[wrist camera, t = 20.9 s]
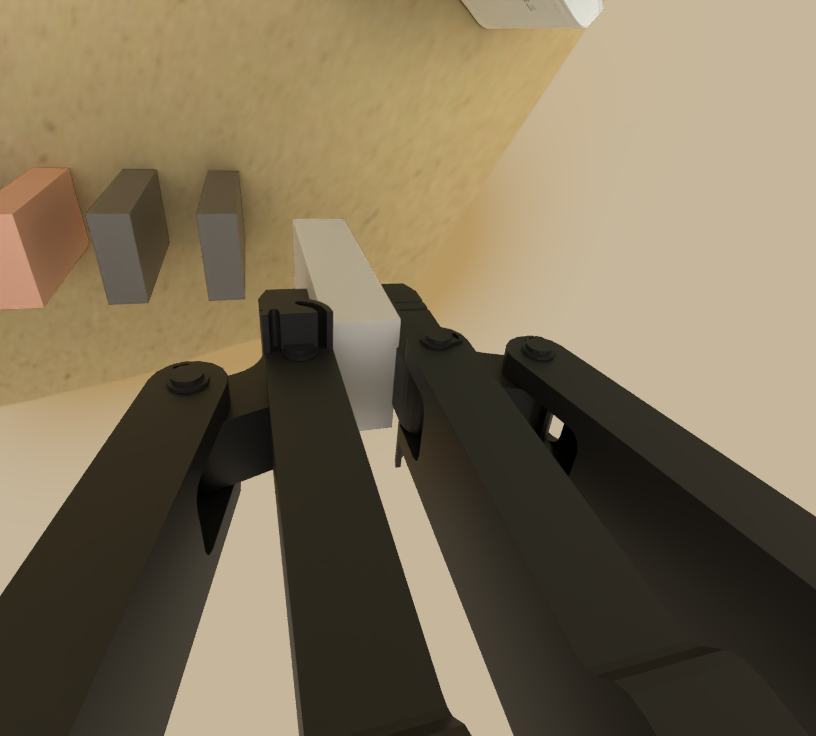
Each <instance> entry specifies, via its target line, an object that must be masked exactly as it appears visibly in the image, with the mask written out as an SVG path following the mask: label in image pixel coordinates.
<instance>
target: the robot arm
mask: <svg viewBox="0 0 816 736" xmlns="http://www.w3.org/2000/svg"><path fill="white" fill-rule="evenodd" d="M293 246H294V274H295V289H278V290H266V291H265V292H264V293H263V294H262V295H261V297H260V298H259V299H258V303H259V316H260V329H261V342H262V353H263V355H262V357H261V359H260V360H259V362H257V363H256V364H255V365H254V366H252V367H251V368H249V369H247V370H245V371H242V372H239V373H236V374H233V375H229V376H228V375H227V373H226V372H225V371H224V369H223V368H221V367H219V366H217V365H215V364H213V363H208V362H201V361H193V362H189V361H186V362H180V363H176V364H173V365H170V366H168V367H165V368H163V369H161V370H159V371H157V372H156V373H155V374H154V375H153V376H152V377H151V378H150V379H148V381H147V382H146V384H145V386H144V387H143V388H142V390H141V391H140V393H139V394H138V395H137V397H136V399H135V400H134V401H133V403H132V404H131V406H130V407H129V409H128V410H127V412H126V413H125V414H124V416H123V417H122V419H121V420H120V422H119V423H118V425H117V426H116V428H115V429H114V431H113V432H112V434H111V435H110V436H109V438H108V439H107V441H106V443H105V444H104V445H103V447H102V448H101V450H100V451H99V452H98V454H97V455H96V457H95V458H94V460H93V461H92V463H91V464H90V466H89V467H88V469H87V470H86V471H85V473H84V474H83V476H82V478H81V479H80V480H79V482H78V483H77V485H76V486H75V488H74V489H73V491H72V492H71V494H70V495H69V496H68V498H67V499H66V501H65V502H64V504H63V505H62V507H61V508H60V510H59V511H58V513H57V514H56V515H55V517H54V518H53V520H52V521H51V523H50V524H49V526H48V527H47V528H46V530H45V531H44V533H43V534H42V536H41V537H40V539H39V540H38V542H37V543H36V545H35V546H34V548H33V549H32V551H31V552H30V553H29V555H28V556H27V558H26V559H25V561H24V562H23V564H22V565H21V566H20V568H19V569H18V571H17V572H16V574H15V575H14V577H13V578H12V580H11V581H10V583H9V584H8V585H7V587H6V588H5V590H4V591H3V593H2V594H1V596H0V736H164V733H165V730H166V727H167V724H168V721H169V717H170V714H171V711H172V708H173V705H174V702H175V698H176V695H177V692H178V689H179V686H180V683H181V679H182V676H183V673H184V670H185V666H186V663H187V660H188V657H189V654H190V651H191V647H192V644H193V641H194V638H195V634H196V632H197V628H198V625H199V622H200V618H201V616H202V612H203V609H204V606H205V603H206V600H207V596H208V593H209V590H210V587H211V584H212V581H213V577H214V574H215V571H216V568H217V565H218V561H219V558H220V555H221V552H222V548H223V546H224V542H225V539H226V536H227V533H228V529H229V526H230V523H231V520H232V517H233V514H234V510H235V507H236V504H237V501H238V497H239V495H240V491H241V481H244V480H247V479H249V478H252V477H254V476H257V475H260V474H262V473H265V472H267V471H270V470H273V474H274V484H275V494H276V503H277V515H278V525H279V535H280V545H281V555H282V565H283V576H284V586H285V596H286V607H287V617H288V626H289V637H290V647H291V658H292V668H293V678H294V688H295V698H296V708H297V717H298V718H297V719H298V729H299V736H471V735H470V732H469V731H468V729H467V727H466V726H465V724H463V723H462V722H460V721H459V720H457V719H456V718H454V717H453V716H452V714H451V713H450V711H449V709H448V708H447V705H446V702H445V700H444V697H443V694H442V691H441V688H440V685H439V682H438V679H437V676H436V672H435V669H434V666H433V663H432V660H431V657H430V653H429V650H428V647H427V644H426V641H425V638H424V634H423V631H422V628H421V625H420V622H419V619H418V615H417V612H416V609H415V606H414V603H413V600H412V597H411V593H410V590H409V587H408V584H407V581H406V578H405V575H404V572H403V568H402V565H401V562H400V559H399V556H398V553H397V549H396V546H395V543H394V540H393V537H392V534H391V531H390V527H389V524H388V521H387V518H386V514H385V511H384V508H383V505H382V502H381V499H380V496H379V493H378V489H377V486H376V483H375V480H374V477H373V473H372V470H371V467H370V464H369V461H368V458H367V455H366V451H365V448H364V445H363V442H362V439H361V436H360V433H359V431H362V430H371V429H380V428H389V427H392V418H393V407H394V409H395V412H396V414H397V417H398V419H399V424H398V434H397V446H396V455H395V466H396V467H400V466H401V458H402V457H403V455H404V458H405V460H406V463H407V466H408V468H409V470H410V473H411V476H412V478H413V481H414V483H415V486H416V488H417V491H418V493H419V496H420V498H421V501H422V503H423V506H424V509H425V511H426V514H427V516H428V519H429V521H430V524H431V526H432V529H433V531H434V534H435V537H436V539H437V542H438V544H439V546H440V549H441V552H442V554H443V557H444V560H445V562H446V565H447V567H448V570H449V572H450V575H451V577H452V580H453V582H454V585H455V587H456V590H457V593H458V595H459V598H460V600H461V603H462V605H463V608H464V610H465V613H466V615H467V618H468V620H469V623H470V625H471V628H472V631H473V633H474V636H475V638H476V641H477V643H478V646H479V649H480V651H481V654H482V656H483V659H484V661H485V664H486V666H487V669H488V671H489V674H490V676H491V679H492V682H493V684H494V686H495V689H496V692H497V694H498V697H499V699H500V702H501V705H502V707H503V709H504V712H505V715H506V717H507V720H508V722H509V725H510V727H511V730H512V732H513V735H514V736H816V517H815V516H814V515H812V514H811V513H809V512H808V511H806V510H805V509H803V508H802V507H800V506H799V505H798V504H796V503H795V502H793V501H791V500H790V499H789V498H787V497H786V496H784V495H783V494H781V493H779V492H778V491H777V490H775V489H774V488H772V487H771V486H769V485H768V484H766V483H765V482H763V481H762V480H760V479H759V478H757V477H756V476H754V475H753V474H751V473H750V472H748V471H747V470H745V469H744V468H742V467H741V466H739V465H738V464H736V463H735V462H733V461H732V460H730V459H729V458H727V457H726V456H725V455H723V454H722V453H720V452H719V451H717V450H716V449H714V448H713V447H711V446H710V445H708V444H707V443H705V442H704V441H702V440H701V439H699V438H698V437H696V436H695V435H693V434H692V433H690V432H689V431H687V430H686V429H684V428H683V427H681V426H680V425H678V424H677V423H675V422H674V421H672V420H671V419H669V418H668V417H666V416H665V415H663V414H662V413H660V412H659V411H657V410H656V409H654V408H653V407H652V406H650V405H649V404H647V403H646V402H644V401H642V400H641V399H640V398H638V397H637V396H635V395H634V394H632V393H631V392H629V391H628V390H626V389H625V388H623V387H622V386H620V385H619V384H617V383H616V382H614V381H613V380H611V379H610V378H608V377H607V376H605V375H604V374H602V373H601V372H599V371H598V370H596V369H595V368H593V367H592V366H591V365H589V364H588V363H586V362H585V361H583V360H582V359H580V358H579V357H577V356H576V355H574V354H573V353H571V352H570V351H568V350H566V349H565V348H564V347H562V346H561V345H559V344H557V343H555V342H553V341H551V340H547V339H544V338H542V337H538V336H535V337H534V336H524V337H516V338H515V339H512V340H510V341H509V342H508V344H507V345H506V349H505V354H504V355H498V354H489V353H481V352H476V351H475V350H474V348H473V347H472V345H471V344H470V343H469V341H468V340H467V339H466V338H465V337H464V336H463V335H461V334H460V333H458V332H456V331H453V330H451V329H447V328H442V327H440V326H439V324H438V323H437V321H436V320H435V318H434V317H433V315H432V314H431V312H430V311H429V310H427V307H426V305H425V304H424V303H423V302H422V299H421V298H420V296H419V295H418V294H417V292H416V291H415V290H413V289H411V288H410V287H408V286H406V285H405V284H380V282H379V280H378V279H377V277H376V275H375V273H374V272H373V270H372V268H371V266H370V265H369V263H368V261H367V259H366V258H365V256H364V254H363V252H362V250H361V249H360V247H359V245H358V243H357V242H356V240H355V238H354V236H353V235H352V233H351V231H350V229H349V228H348V226H347V224H346V222H345V221H344V219H293ZM553 415H555V416H556V417H557V418H558V419H560V420H561V421H562V422H563V423H564V426H563V429H562V432H561V436H560V437H559V439H557V438H555V437H553V436H552V435H551V434H550V433H549V428H550V424H551V421H552V418H553Z"/></svg>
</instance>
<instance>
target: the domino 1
mask: <svg viewBox="0 0 816 736" xmlns="http://www.w3.org/2000/svg"><path fill="white" fill-rule="evenodd" d="M88 245H89V241H88V237H87V233H86V230H85V226H84V222H83V219H82V215H81V211H80V207H79V204H78V200H77V196H76V192H75V189H74V185H73V181H72V178H71V174H70V170H69V168H32V169H30V170H29V171H27V172H26V173H24V174H23V175H21V176H20V177H18V178H17V179H15V180H14V181H13V182H11V183H10V184H8V185H7V186H5V187H4V188H2V189H1V190H0V309H1V310H3V309H26V308H44V307H45V306H46V304H47V303H48V301H49V300H50V299H51V297H52V296H53V294H54V293H55V292H56V290H57V289H58V287H59V286H60V285H61V283H62V282H63V280H64V279H65V277H66V276H67V275H68V273H69V272H70V270H71V269H72V268H73V266H74V265H75V263H76V262H77V261H78V259H79V258H80V256H81V255H82V254H83V252H84V251H85V249H86V248H87V247H88Z"/></svg>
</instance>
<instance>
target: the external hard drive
mask: <svg viewBox="0 0 816 736" xmlns="http://www.w3.org/2000/svg"><path fill="white" fill-rule="evenodd" d="M462 2H463V3H464V5H465V6H466V7H467V9H468V10H469V11H470V13H471V14H472V15H473V17H474V18H475V19H476V21H477V22H478V23H479V24H480V25H481V26H482V27H484V28H487V29H490V28H491V29H499V28H587V27H588V26H589V24H590V23H591V22H592V21H593V20H594V19H595V18H596V17H597V15H598V14H599V13H600V12H601V11H602V10H603V8H604V7H603V0H462Z"/></svg>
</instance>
